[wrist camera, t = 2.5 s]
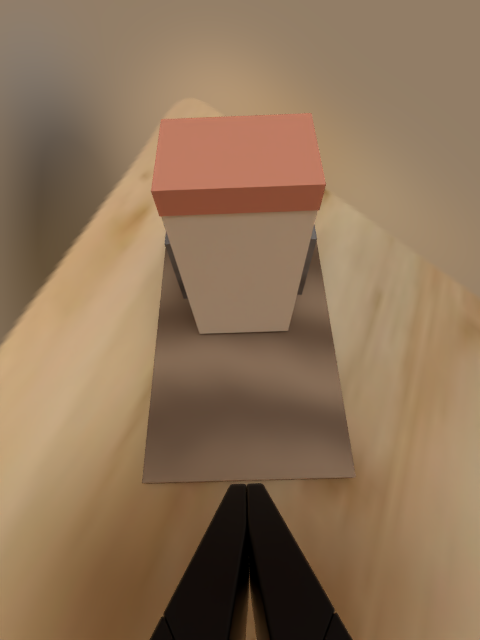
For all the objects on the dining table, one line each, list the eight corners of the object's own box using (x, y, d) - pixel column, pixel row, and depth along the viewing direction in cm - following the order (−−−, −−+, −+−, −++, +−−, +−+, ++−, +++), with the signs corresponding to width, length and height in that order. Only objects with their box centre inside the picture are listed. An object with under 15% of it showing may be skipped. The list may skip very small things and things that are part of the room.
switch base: (350, 477, 19) (399, 473, 13) (147, 483, 19) (98, 481, 13) (310, 227, 28) (328, 153, 22) (170, 233, 28) (147, 160, 22)
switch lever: (288, 331, 22) (326, 184, 11) (198, 334, 22) (151, 191, 11) (283, 280, 24) (311, 113, 13) (200, 283, 24) (161, 119, 13)
